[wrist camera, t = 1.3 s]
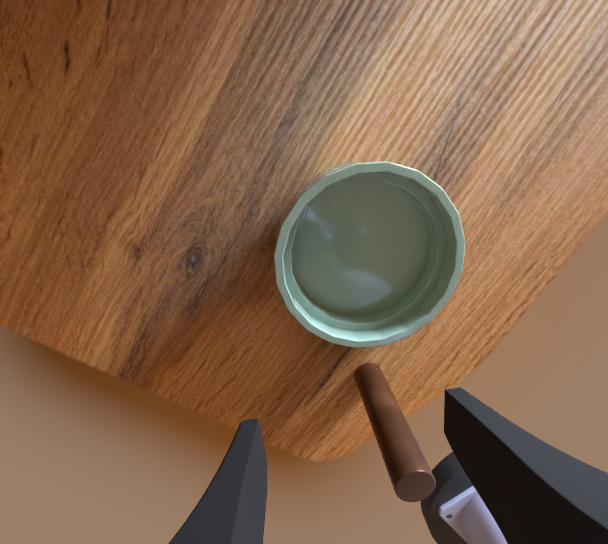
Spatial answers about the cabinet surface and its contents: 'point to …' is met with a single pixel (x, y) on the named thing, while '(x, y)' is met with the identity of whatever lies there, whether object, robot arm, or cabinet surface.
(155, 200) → the cabinet surface
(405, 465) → the stirring stick
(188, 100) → the cabinet surface
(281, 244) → the celadon bowl
